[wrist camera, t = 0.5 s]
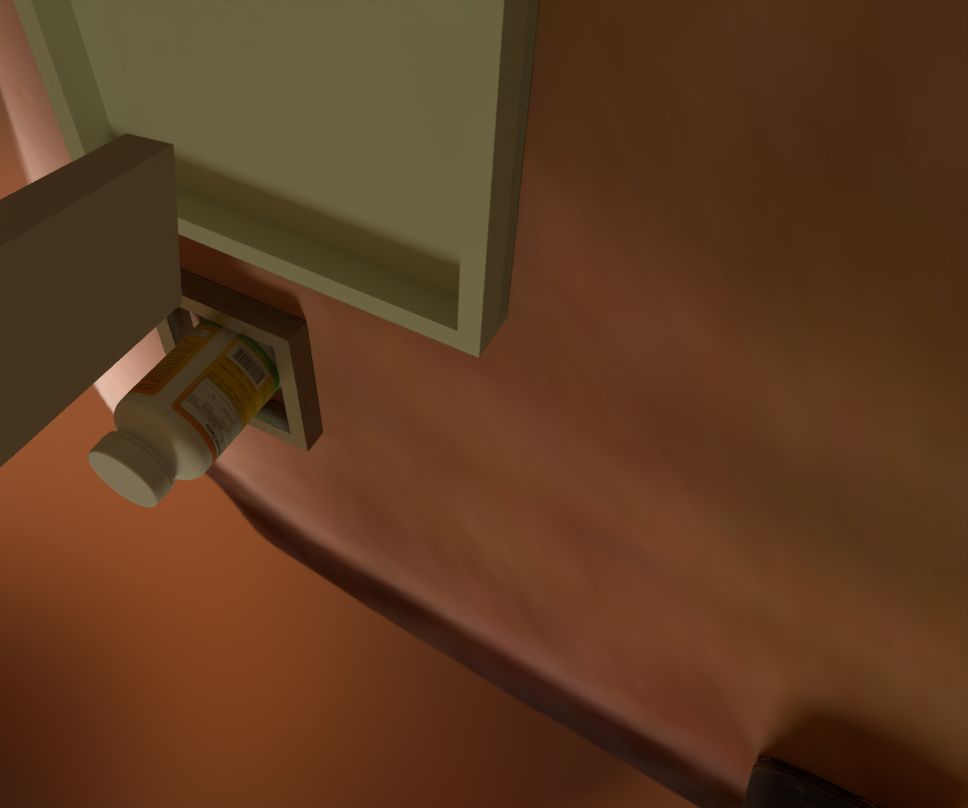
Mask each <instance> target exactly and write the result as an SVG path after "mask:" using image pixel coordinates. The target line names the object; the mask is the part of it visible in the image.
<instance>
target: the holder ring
mask: <svg viewBox="0 0 968 808" xmlns="http://www.w3.org/2000/svg"><path fill="white" fill-rule="evenodd" d="M180 275H181V293H182V304H181V305H179V306H178V307H177V308H176V309H175V310H174V311H173V312H172V313H171V314H169V315H168V316H167V317H166V318H165V319H164V320H163V321H162V322H161V323H160V324H158V325H157V326H156V327H157V330H158V333H159V336H160V339H161V342H162V345H163V348H164V351H165V354H166V355H167V354H168V353H169V352H170V351H172V350H173V349H174V348H175V347H176V346H177V345H178V344H179V343H180V342H181V341H182V340H183V339H184V338H185V337H186V336H187V335H188V334H189V333H190V332H191V331H192V330H193V326H192V323H191V319H190V316H189V313H188V311H190V312H193V313H195V314H197V315H199V316H202V317H204V318H206V319H209V320H211V321H213V322H215V323H218V324H220V325H222V326H225V327H227V328H229V329H231V330H234V331H236V332H238V333H241V334H243V335H245V336H247V337H250V338H252V339H254V340H257V341H259V342H261V343H263V344H266V345H268V346H270V347H273V348H274V352H275V357H276V362H277V367H278V372H279V377H280V383H281V388H282V393H283V398H284V403H285V406H284V405H282V404H279V403H277V402H275V401H273V400H271V399H269V400H268V401H267V402H266V404H265V405H264V406H263V407H262V408H261V409H260V410H259V411H258V413H257V414H256V415H255V416H254V417H253V418H252V419H251V421H250V422H249V423H248V424H249V425H251V426H253V427H255V428H257V429H260V430H262V431H264V432H266V433H268V434H270V435H272V436H275V437H277V438H279V439H281V440H283V441H285V442H287V443H290V444H292V445H294V446H296V447H298V448H300V449H302V450H304V451H307V452H308V451H309V450H310V449H311V447H312V446H313V445H314V444H315V442H316V441H317V440H318V439H319V437H320V436H321V435H322V434H323V432H322V425H321V418H320V412H319V405H318V398H317V392H316V385H315V378H314V372H313V365H312V358H311V351H310V345H309V338H308V331H307V325H306V322H305V321H303V320H300V319H298V318H296V317H293V316H291V315H289V314H286V313H284V312H282V311H279V310H277V309H274V308H272V307H270V306H267V305H265V304H263V303H260V302H258V301H256V300H253V299H251V298H248V297H246V296H244V295H241V294H239V293H237V292H234V291H232V290H230V289H227V288H225V287H222V286H220V285H218V284H215V283H213V282H211V281H208V280H206V279H204V278H201V277H199V276H197V275H194V274H192V273H189V272H187V271H185V270H182V269H180Z"/></svg>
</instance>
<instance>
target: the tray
mask: <svg viewBox="0 0 968 808" xmlns="http://www.w3.org/2000/svg"><path fill="white" fill-rule="evenodd" d="M13 2H14V5H15V7H16V10H17V13H18V16H19V18H20V21H21V24H22V26H23V29H24V32H25V35H26V37H27V40H28V43H29V45H30V48H31V51H32V54H33V56H34V59H35V62H36V64H37V67H38V70H39V73H40V75H41V78H42V81H43V83H44V86H45V89H46V92H47V94H48V97H49V100H50V102H51V105H52V108H53V111H54V113H55V116H56V119H57V121H58V124H59V127H60V129H61V132H62V135H63V138H64V140H65V143H66V146H67V148H68V151H69V154H70V157H71V159H72V162H73V161H75V160H77V159H79V158H80V157H82V156H84V155H86V154H88V153H90V152H92V151H94V150H96V149H98V148H99V147H101V146H103V145H105V144H107V143H109V142H111V141H113V140H115V139H117V138H118V137H120V136H122V135H124V134H126V133H127V134H132V135H136V136H140V137H145V138H149V139H153V140H158V141H162V142H166V143H171V144H174V163H175V182H176V200H177V219H178V234H180V235H182V236H184V237H187V238H189V239H192V240H194V241H197V242H199V243H201V244H204V245H206V246H209V247H211V248H214V249H216V250H218V251H221V252H223V253H226V254H228V255H231V256H233V257H235V258H238V259H240V260H243V261H245V262H248V263H250V264H252V265H255V266H257V267H260V268H262V269H265V270H267V271H269V272H272V273H274V274H277V275H279V276H282V277H284V278H286V279H289V280H291V281H294V282H296V283H299V284H301V285H303V286H306V287H308V288H311V289H313V290H316V291H318V292H320V293H323V294H325V295H328V296H330V297H333V298H335V299H337V300H340V301H342V302H345V303H347V304H350V305H352V306H354V307H357V308H359V309H362V310H364V311H367V312H369V313H371V314H374V315H376V316H379V317H381V318H384V319H386V320H388V321H391V322H393V323H396V324H398V325H401V326H403V327H405V328H408V329H410V330H413V331H415V332H418V333H420V334H422V335H425V336H427V337H430V338H432V339H435V340H437V341H439V342H442V343H444V344H447V345H449V346H452V347H454V348H457V349H459V350H461V351H464V352H466V353H469V354H471V355H474V356H476V357H478V358H479V357H480V356H481V354H482V353H483V351H484V350H485V349H486V347H487V346H488V344H489V343H490V341H491V340H492V339H493V337H494V336H495V334H496V333H497V332H498V330H499V329H500V327H501V326H502V324H503V323H504V322H505V320H506V319H507V311H508V301H509V291H510V281H511V271H512V261H513V252H514V242H515V232H516V222H517V212H518V202H519V193H520V183H521V173H522V163H523V153H524V143H525V134H526V124H527V114H528V104H529V94H530V84H531V75H532V65H533V55H534V45H535V35H536V25H537V16H538V6H539V0H13Z"/></svg>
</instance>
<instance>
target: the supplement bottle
mask: <svg viewBox="0 0 968 808" xmlns="http://www.w3.org/2000/svg"><path fill="white" fill-rule="evenodd" d="M280 386H281V383H280V377H279V372H278V367H277V362H276V357H275V352H274V349H273V347H270V346H268V345H266V344H263V343H261V342H259V341H257V340H254V339H252V338H250V337H247V336H245V335H243V334H241V333H238V332H236V331H234V330H231V329H229V328H227V327H225V326H222V325H220V324H218V323H215V322H213V321H211V320H209V319H206V318H205V319H204V320H202V321H201V322H200V323H199V324H198V325H197V326H196V327H195V328H194V329H193V330H192V331H191V332H190V333H189V334H188V335H187V336H186V337H185V338H184V339H183V340H182V341H181V342H180V343H179V344H178V345H177V346H176V347H175V348H174V349H173V350H172V351H170V352H169V353H168V354H167V355H166V356H165V357H164V358H163V359H162V360H161V361H160V362H159V363H158V364H157V365H156V366H155V367H154V368H153V369H152V370H151V371H150V372H149V373H148V374H147V375H146V376H145V377H144V378H143V379H142V380H141V381H140V382H138V383H137V384H136V385H135V386H134V387H133V388H132V389H131V390H130V391H129V392H128V393H127V394H126V395H125V396H124V397H123V398H122V400H121V401H120V402H119V403H118V404H117V406H116V408H115V411H114V422H115V426H116V429H117V431H111V432H109V433H108V434H107V435H105V436H104V437H103V438H102V439H101V440H100V441H99V442H98V443H97V444H96V445H95V446H94V447H93V448H92V450H91V451H90V452H89V454H88V460H89V463H90V465H91V466H92V468H93V469H94V471H95V472H96V473H97V475H98V476H99V477H100V478H101V479H102V480H103V481H104V482H105V483H106V484H107V485H108V486H110V487H111V488H112V489H113V490H115V491H116V492H117V493H119V494H120V495H122V496H123V497H125V498H126V499H128V500H130V501H132V502H134V503H136V504H138V505H141V506H144V507H154V506H156V505H157V504H158V503H159V502H160V501H161V500H162V499H163V498H164V497H165V496H166V495H167V493H169V492H170V491H171V489H172V487H173V486H174V482H175V480H174V478H175V479H181V480H191V479H195V478H198V477H200V476H201V475H202V474H204V473H205V472H206V471H207V470H208V468H209V467H210V466H211V465H212V464H213V463H214V462H215V461H216V459H217V458H218V457H219V456H220V455H221V454H222V453H223V451H224V450H225V449H226V448H227V447H228V446H229V445H230V443H231V442H232V441H233V440H234V439H235V438H236V436H237V435H238V434H239V433H240V432H241V431H242V430H243V429H244V427H245V426H246V425H247V424H248V423H249V422H250V421H251V419H252V418H253V417H254V416H255V415H256V414H257V413H258V411H259V410H260V409H261V408H262V407H263V406H264V405H265V404H266V402H267V401H268V400H269V399H270V398H271V397H272V396H273V395H274V393H275V392H276V391H277V390H278V388H279V387H280Z"/></svg>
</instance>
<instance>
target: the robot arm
mask: <svg viewBox="0 0 968 808" xmlns="http://www.w3.org/2000/svg"><path fill="white" fill-rule="evenodd" d="M181 304H182V293H181V275H180V256H179V237H178V219H177V200H176V182H175V163H174V144H171V143H166V142H162V141H158V140H153V139H149V138H145V137H140V136H136V135H132V134H127V133H126V134H124V135H122V136H120V137H118V138H117V139H115V140H113V141H111V142H109V143H107V144H105V145H103V146H101V147H99V148H98V149H96V150H94V151H92V152H90V153H88V154H86V155H84V156H82V157H80V158H79V159H77V160H75V161H73V162H71V163H69V164H67V165H65V166H63V167H61V168H60V169H58V170H56V171H54V172H52V173H50V174H48V175H46V176H44V177H42V178H40V179H39V180H37V181H35V182H33V183H31V184H29V185H27V186H25V187H23V188H22V189H20V190H18V191H16V192H14V193H12V194H10V195H8V196H6V197H4V198H2V199H1V200H0V467H1V466H3V465H4V464H5V463H6V462H7V461H8V460H9V459H10V458H11V457H13V456H14V455H15V454H16V453H17V452H18V451H19V450H20V449H21V448H23V447H24V446H25V445H26V444H27V443H28V442H29V441H30V440H31V439H32V438H34V437H35V436H36V435H37V434H38V433H39V432H40V431H41V430H42V429H44V428H45V427H46V426H47V425H48V424H49V423H50V422H51V421H52V420H53V419H54V418H56V417H57V416H58V415H59V414H60V413H61V412H62V411H63V410H64V409H65V408H67V407H68V406H69V405H70V404H71V403H72V402H73V401H74V400H76V399H77V398H78V397H79V396H80V395H81V394H82V393H83V392H84V391H86V390H87V389H88V388H89V387H90V386H91V385H92V384H93V383H94V382H95V381H97V380H98V379H99V378H100V377H101V376H102V375H103V374H104V373H105V372H107V371H108V370H109V369H110V368H111V367H112V366H113V365H114V364H115V363H116V362H118V361H119V360H120V359H121V358H122V357H123V356H124V355H125V354H126V353H128V352H129V351H130V350H131V349H132V348H133V347H134V346H135V345H136V344H137V343H139V342H140V341H141V340H142V339H143V338H144V337H145V336H146V335H147V334H148V333H150V332H151V331H152V330H153V329H154V328H155V327H156V326H157V325H158V324H160V323H161V322H162V321H163V320H164V319H165V318H166V317H167V316H168V315H169V314H171V313H172V312H173V311H174V310H175V309H176V308H177V307H178V306H179V305H181Z"/></svg>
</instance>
